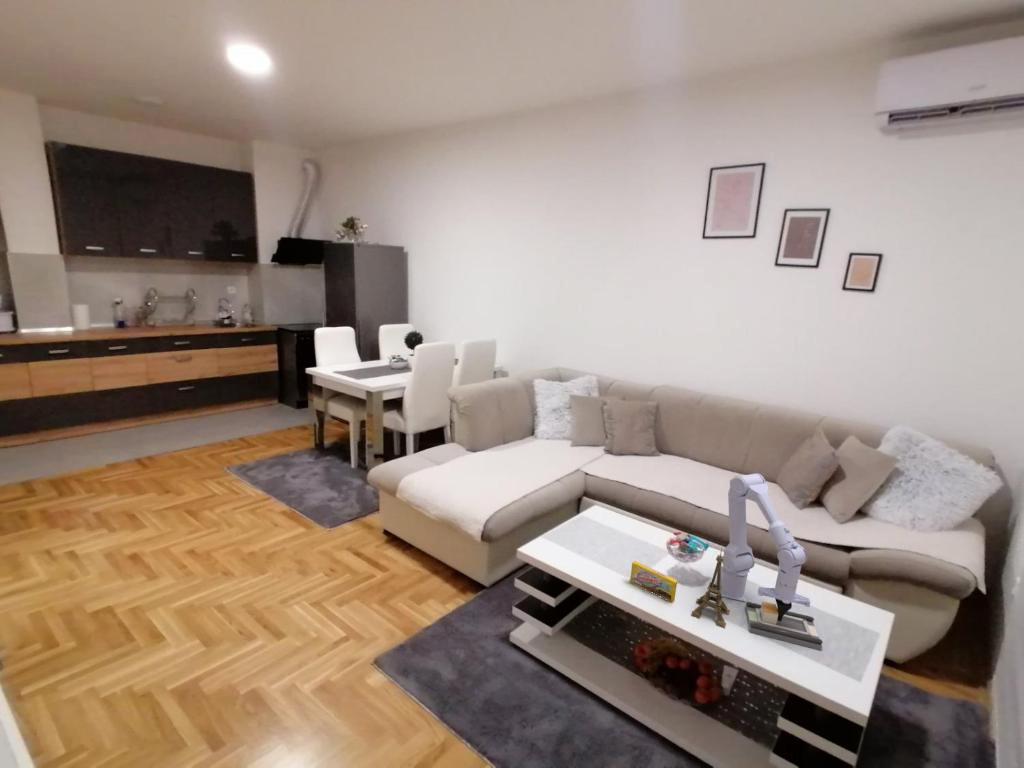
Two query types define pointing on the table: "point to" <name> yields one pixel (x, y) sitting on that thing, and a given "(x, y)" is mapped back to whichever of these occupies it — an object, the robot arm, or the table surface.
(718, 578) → the eiffel tower
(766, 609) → the orange-faced white block
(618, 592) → the table surface
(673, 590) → the candy box
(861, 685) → the table surface
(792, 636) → the panel
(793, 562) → the robot arm
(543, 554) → the table surface
